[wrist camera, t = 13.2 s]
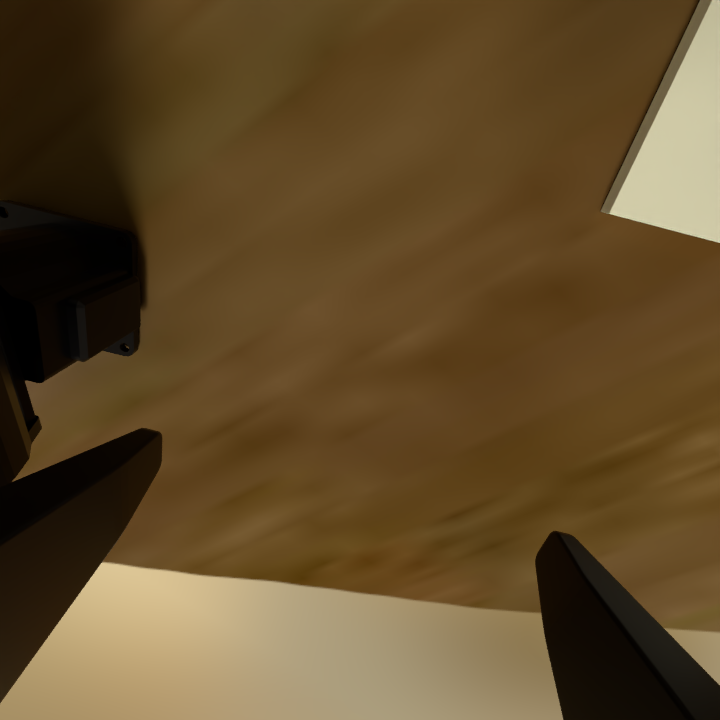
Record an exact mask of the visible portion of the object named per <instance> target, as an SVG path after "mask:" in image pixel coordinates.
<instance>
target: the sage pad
mask: <svg viewBox="0 0 720 720" xmlns="http://www.w3.org/2000/svg"><path fill="white" fill-rule="evenodd" d="M600 212H604V213H608V214H612V215H616V216H619V217H623V218H627V219H631V220H635V221H639V222H642V223H646V224H650V225H654V226H658V227H661V228H665V229H669V230H673V231H677V232H680V233H684V234H688V235H692V236H696V237H699V238H703V239H707V240H711V241H715V242H718V243H720V0H700V2H699V4H698V6H697V8H696V10H695V12H694V14H693V16H692V18H691V21H690V23H689V25H688V27H687V29H686V31H685V33H684V35H683V38H682V40H681V42H680V44H679V46H678V48H677V50H676V52H675V54H674V57H673V59H672V61H671V63H670V65H669V67H668V69H667V71H666V74H665V76H664V78H663V80H662V82H661V84H660V86H659V88H658V90H657V93H656V95H655V97H654V99H653V101H652V103H651V105H650V107H649V109H648V112H647V114H646V116H645V118H644V120H643V122H642V124H641V126H640V129H639V131H638V133H637V135H636V137H635V139H634V141H633V143H632V145H631V148H630V150H629V152H628V154H627V156H626V158H625V160H624V162H623V165H622V167H621V169H620V171H619V173H618V175H617V177H616V179H615V181H614V184H613V186H612V188H611V190H610V192H609V194H608V196H607V198H606V201H605V203H604V205H603V207H602V209H601V211H600Z"/></svg>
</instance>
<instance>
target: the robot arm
mask: <svg viewBox="0 0 720 720" xmlns="http://www.w3.org/2000/svg"><path fill="white" fill-rule="evenodd" d="M5 209H6V210H7V211H8V215H7V214H6V212H5ZM122 237H123V238H124V239H125V240H126V242H127V246H125V245H124V244H123V243H122V241H121V238H122ZM139 327H140V281H139V279H138V276H137V240H136V238H135V236H134V235H133V234H132V233H131V232H129V231H127V230H124V229H120V228H116V227H112V226H108V225H104V224H100V223H96V222H92V221H88V220H84V219H80V218H77V217H73V216H69V215H65V214H61V213H57V212H53V211H49V210H45V209H41V208H37V207H33V206H29V205H25V204H21V203H17V202H13V201H9V200H1V201H0V703H1V702H2V700H3V699H4V697H5V696H6V695H7V693H8V692H9V690H10V689H11V687H12V686H13V685H14V683H15V682H16V681H17V679H18V678H19V676H20V675H21V674H22V672H23V671H24V670H25V668H26V667H27V665H28V664H29V663H30V661H31V660H32V658H33V657H34V656H35V654H36V653H37V651H38V650H39V648H40V647H41V646H42V645H43V643H44V642H45V640H46V639H47V638H48V636H49V635H50V633H51V632H52V631H53V629H54V628H55V626H56V625H57V624H58V622H59V621H60V620H61V618H62V617H63V615H64V614H65V612H66V611H67V610H68V608H69V607H70V606H71V604H72V603H73V602H74V600H75V599H76V597H77V596H78V594H79V593H80V592H81V590H82V589H83V588H84V586H85V585H86V583H87V582H88V581H89V579H90V578H91V577H92V575H93V574H94V572H95V571H96V570H97V568H98V567H99V565H100V564H101V563H102V561H103V560H104V558H105V557H106V556H107V554H108V553H109V552H110V550H111V549H112V547H113V546H114V545H115V543H116V542H117V540H118V539H119V537H120V536H121V534H122V533H123V531H124V530H125V528H126V526H127V525H128V523H129V521H130V520H131V518H132V516H133V514H134V513H135V511H136V509H137V507H138V506H139V504H140V502H141V500H142V499H143V497H144V495H145V493H146V492H147V490H148V488H149V486H150V485H151V483H152V481H153V479H154V478H155V476H156V474H157V472H158V471H159V468H160V466H161V462H162V435H161V433H160V432H158V431H155V430H151V429H147V428H141V429H138V430H135V431H133V432H131V433H128V434H126V435H123V436H121V437H119V438H116V439H114V440H112V441H109V442H107V443H104V444H102V445H100V446H97V447H95V448H92V449H90V450H88V451H85V452H83V453H81V454H78V455H76V456H73V457H71V458H69V459H66V460H64V461H61V462H59V463H57V464H54V465H52V466H49V467H47V468H45V469H42V470H40V471H38V472H35V473H33V474H30V475H28V476H26V477H23V478H21V479H18V480H16V481H14V482H12V480H13V479H14V478H15V477H16V476H17V475H18V473H19V472H20V471H21V469H22V468H23V466H24V465H25V464H26V462H27V461H28V459H29V456H30V450H31V444H32V442H33V441H34V439H35V438H36V436H37V435H38V433H39V432H40V430H41V429H42V426H41V423H40V420H39V417H38V416H36V415H35V414H34V410H33V407H32V404H31V401H30V397H29V394H28V391H27V387H26V384H25V381H26V380H28V381H32V382H36V383H42V382H44V381H46V380H47V379H49V378H50V377H52V376H54V375H55V374H57V373H59V372H60V371H62V370H63V369H65V368H67V367H68V366H70V365H72V364H73V363H75V362H76V361H81V362H85V361H87V360H89V359H90V358H92V357H93V356H95V355H96V354H98V353H100V352H101V351H106V352H110V353H114V354H119V355H123V356H130V355H132V354H134V353H135V352H136V351H137V350H138V328H139ZM124 343H125V344H127V345H128V346H129V349H128V348H126V346H125V345H124ZM535 565H536V574H537V582H538V589H539V597H540V605H541V613H542V620H543V628H544V634H545V639H546V644H547V649H548V653H549V658H550V662H551V667H552V671H553V676H554V680H555V684H556V688H557V693H558V698H559V702H560V706H561V711H562V715H563V720H720V685H718V683H717V682H716V681H714V679H713V678H711V676H710V675H709V674H708V673H707V672H706V671H705V670H704V669H703V668H702V667H701V666H700V665H699V664H698V663H697V662H696V661H695V660H694V659H693V658H692V657H691V656H690V655H689V654H688V653H687V652H686V651H685V650H684V649H683V648H682V647H681V646H680V645H679V644H678V642H677V641H675V639H674V638H673V637H672V636H671V635H670V634H669V633H668V632H667V631H666V630H665V629H664V628H663V627H662V626H661V625H660V624H659V623H658V622H657V621H656V620H655V619H654V618H653V617H652V616H651V615H650V614H649V613H648V612H647V611H646V610H645V609H644V608H643V607H642V606H641V605H640V604H639V603H638V602H637V601H636V600H635V599H634V597H633V596H632V595H631V594H630V593H629V592H628V591H627V590H626V589H625V588H624V587H623V586H622V585H621V584H620V583H619V582H618V581H617V580H616V579H615V578H614V577H613V576H612V575H611V574H610V573H609V572H608V571H607V570H606V569H605V568H604V567H603V566H602V565H601V564H600V563H599V562H598V561H597V560H596V559H595V558H594V557H593V556H592V555H591V554H590V552H589V551H588V550H587V549H586V548H585V547H584V546H583V545H582V544H581V543H580V542H579V541H578V540H577V539H576V538H575V537H574V536H572V535H570V534H567V533H563V532H559V531H553V532H551V533H550V534H549V536H548V537H547V539H546V541H545V542H544V544H543V545H542V547H541V548H540V550H539V551H538V553H537V556H536V560H535Z"/></svg>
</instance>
